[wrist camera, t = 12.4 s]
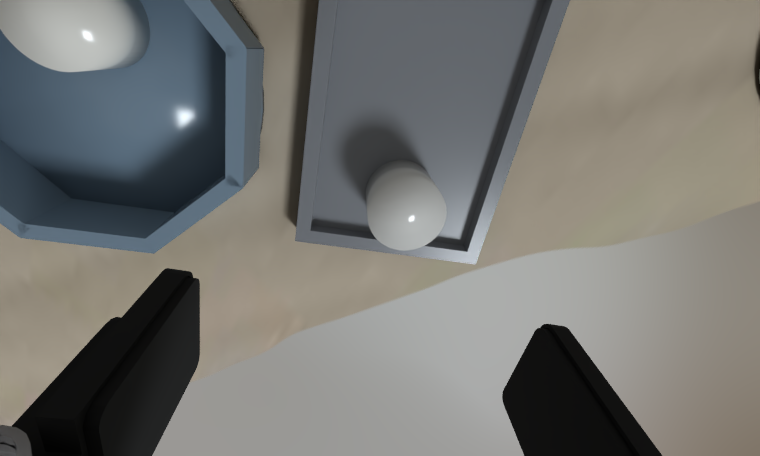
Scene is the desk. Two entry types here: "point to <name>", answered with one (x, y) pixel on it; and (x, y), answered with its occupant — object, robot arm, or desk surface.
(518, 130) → the tray
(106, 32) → the pebble
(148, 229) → the bowl
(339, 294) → the desk surface
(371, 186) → the pebble
